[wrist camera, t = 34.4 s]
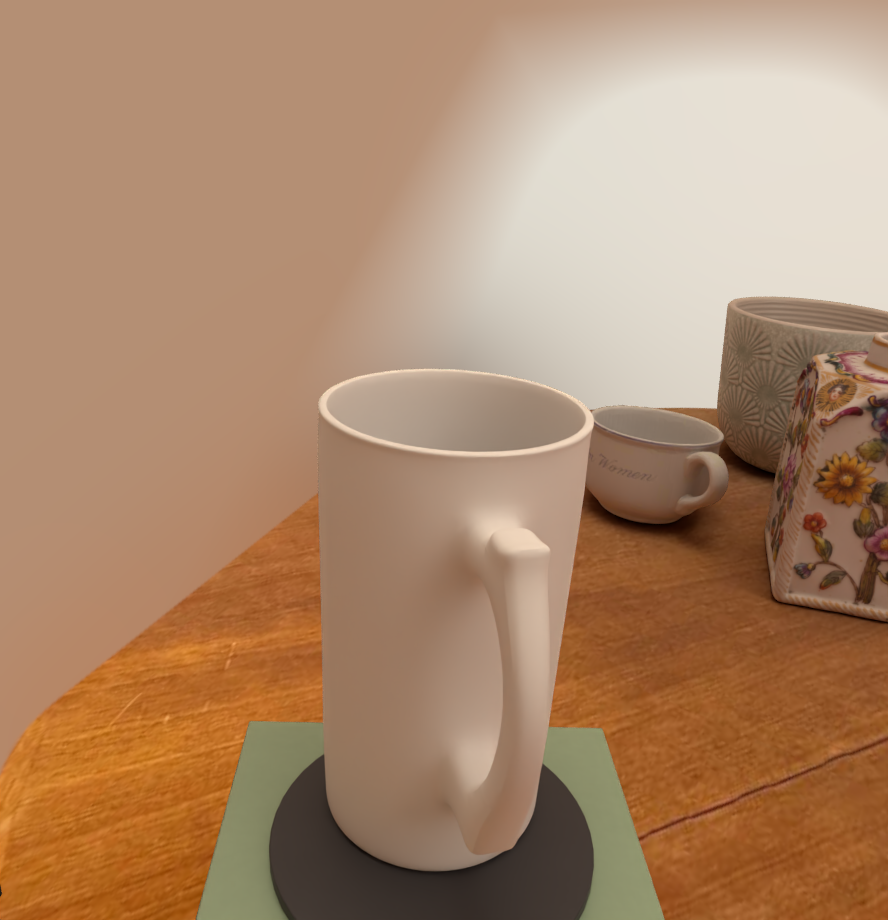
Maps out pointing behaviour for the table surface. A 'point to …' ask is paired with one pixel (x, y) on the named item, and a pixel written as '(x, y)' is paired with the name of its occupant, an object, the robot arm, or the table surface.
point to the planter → (779, 364)
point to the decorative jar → (834, 488)
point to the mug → (443, 604)
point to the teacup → (654, 463)
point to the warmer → (414, 891)
